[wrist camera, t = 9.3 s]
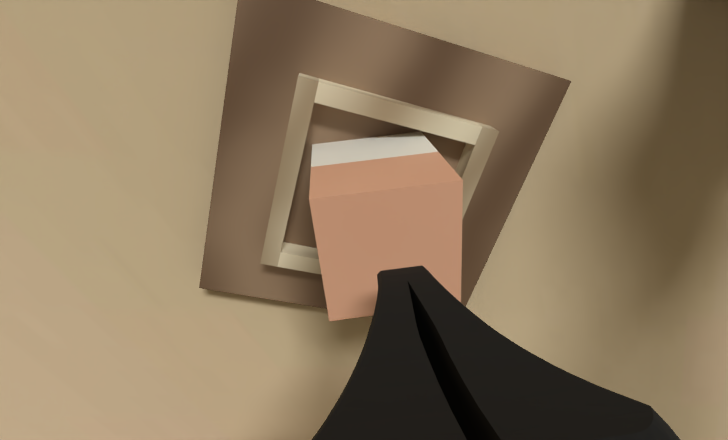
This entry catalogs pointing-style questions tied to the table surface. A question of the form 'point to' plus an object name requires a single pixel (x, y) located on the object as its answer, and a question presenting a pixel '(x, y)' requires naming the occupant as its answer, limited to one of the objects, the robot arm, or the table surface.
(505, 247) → the table surface
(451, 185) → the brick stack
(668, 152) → the table surface
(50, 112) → the table surface
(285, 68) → the walnut board
